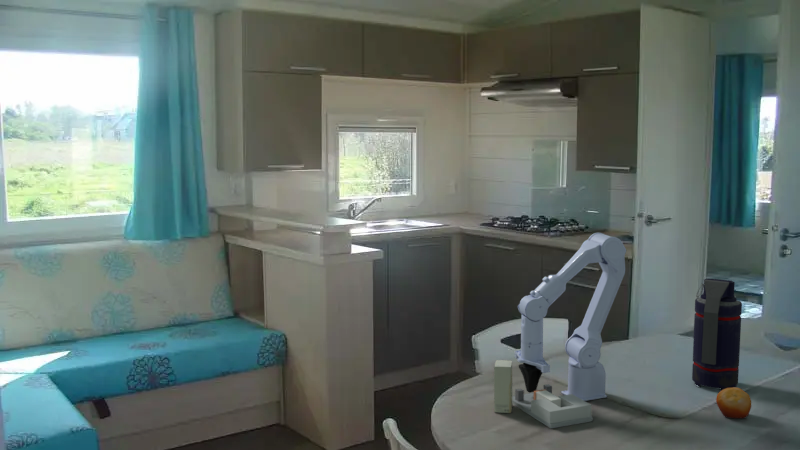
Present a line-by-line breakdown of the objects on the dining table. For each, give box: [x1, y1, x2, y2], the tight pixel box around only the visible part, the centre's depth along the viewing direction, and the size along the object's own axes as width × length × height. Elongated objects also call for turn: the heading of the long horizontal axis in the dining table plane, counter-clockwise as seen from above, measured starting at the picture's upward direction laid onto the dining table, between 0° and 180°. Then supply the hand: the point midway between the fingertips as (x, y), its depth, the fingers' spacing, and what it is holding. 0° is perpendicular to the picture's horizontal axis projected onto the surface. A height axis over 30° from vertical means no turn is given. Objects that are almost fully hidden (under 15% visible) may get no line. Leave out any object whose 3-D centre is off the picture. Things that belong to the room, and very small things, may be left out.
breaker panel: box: [512, 383, 593, 429], centre depth 201 cm, size 12×21×4 cm, turn 22°
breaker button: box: [533, 388, 561, 407], centre depth 201 cm, size 3×8×3 cm, turn 22°
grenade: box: [691, 278, 743, 391], centre depth 216 cm, size 14×12×30 cm
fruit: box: [715, 386, 752, 419], centre depth 196 cm, size 8×8×8 cm
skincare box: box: [493, 359, 513, 414], centre depth 201 cm, size 6×4×12 cm
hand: (531, 391), depth 208 cm, fingers closed
